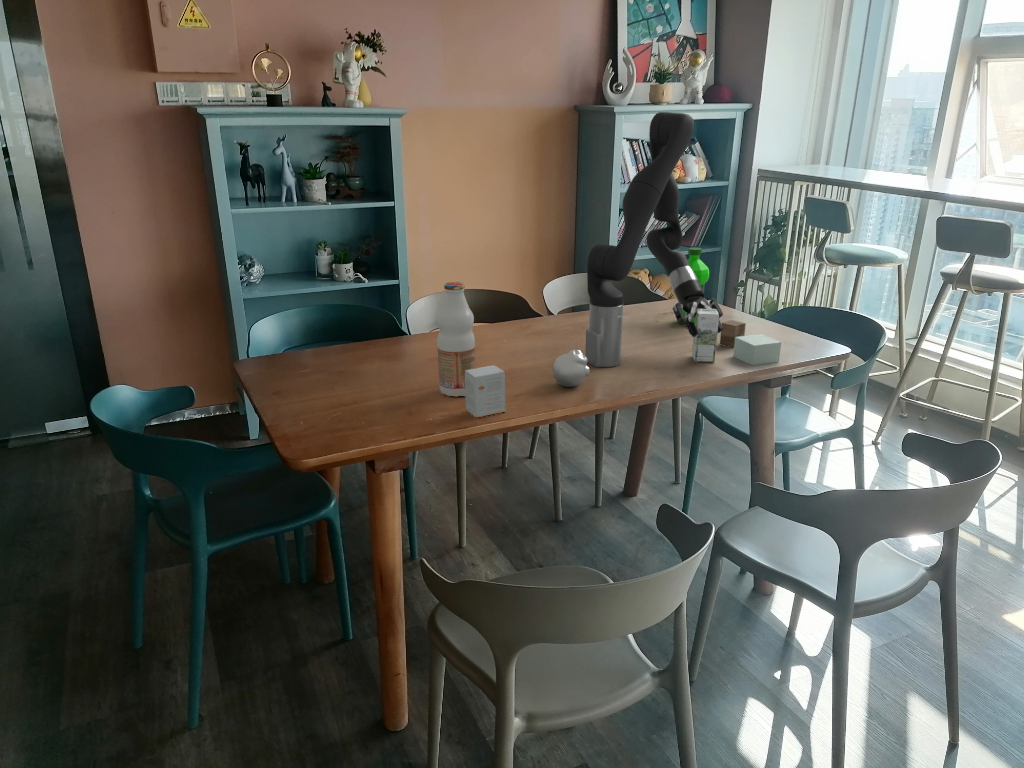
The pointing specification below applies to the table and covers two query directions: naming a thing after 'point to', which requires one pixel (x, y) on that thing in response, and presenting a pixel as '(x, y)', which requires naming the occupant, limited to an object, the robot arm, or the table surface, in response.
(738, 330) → the walnut block
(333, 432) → the table surface
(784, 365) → the table surface
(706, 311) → the milk carton
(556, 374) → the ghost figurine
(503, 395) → the small box
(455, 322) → the fruit juice
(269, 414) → the table surface
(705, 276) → the plastic bottle
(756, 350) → the green block
